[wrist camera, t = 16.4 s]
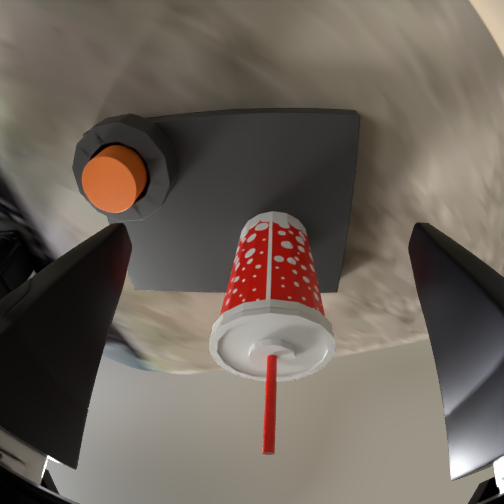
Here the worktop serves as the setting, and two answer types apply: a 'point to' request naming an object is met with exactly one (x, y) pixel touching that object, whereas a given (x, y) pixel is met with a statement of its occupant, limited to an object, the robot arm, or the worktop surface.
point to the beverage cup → (272, 311)
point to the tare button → (114, 178)
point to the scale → (229, 188)
